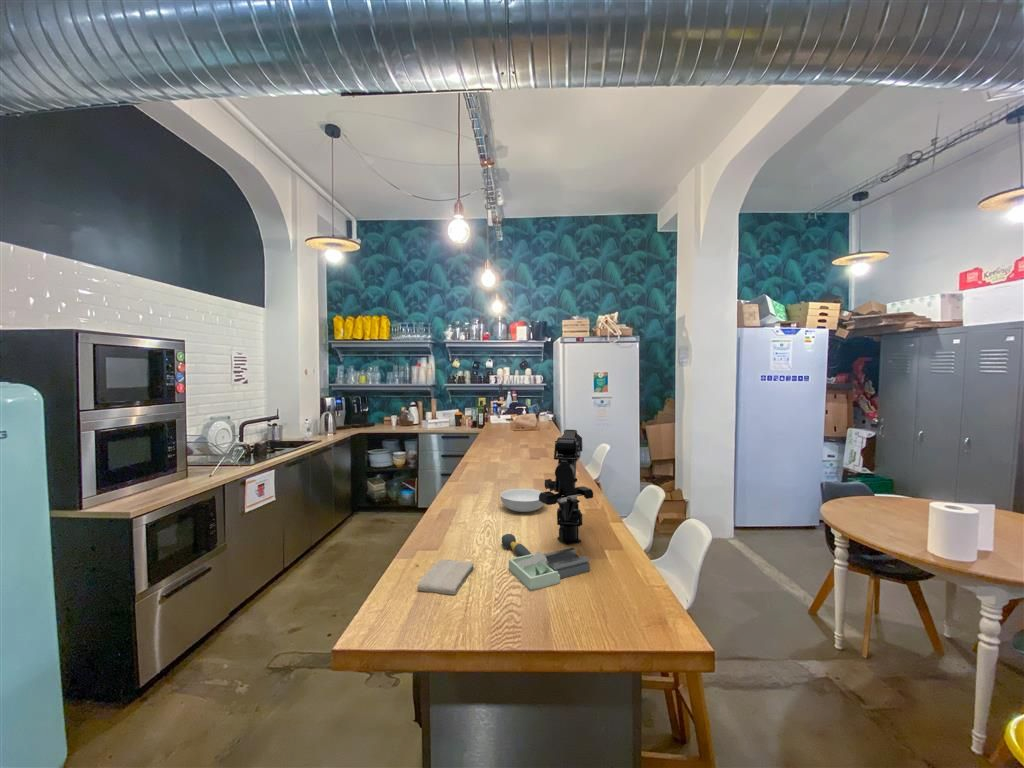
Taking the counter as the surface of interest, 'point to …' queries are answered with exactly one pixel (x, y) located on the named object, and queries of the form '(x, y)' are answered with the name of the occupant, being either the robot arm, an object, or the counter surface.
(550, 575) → the chip tray
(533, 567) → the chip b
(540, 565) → the grey cube
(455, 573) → the washcloth
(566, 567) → the slot board
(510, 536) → the paintbrush
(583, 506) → the counter surface
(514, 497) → the serving bowl
